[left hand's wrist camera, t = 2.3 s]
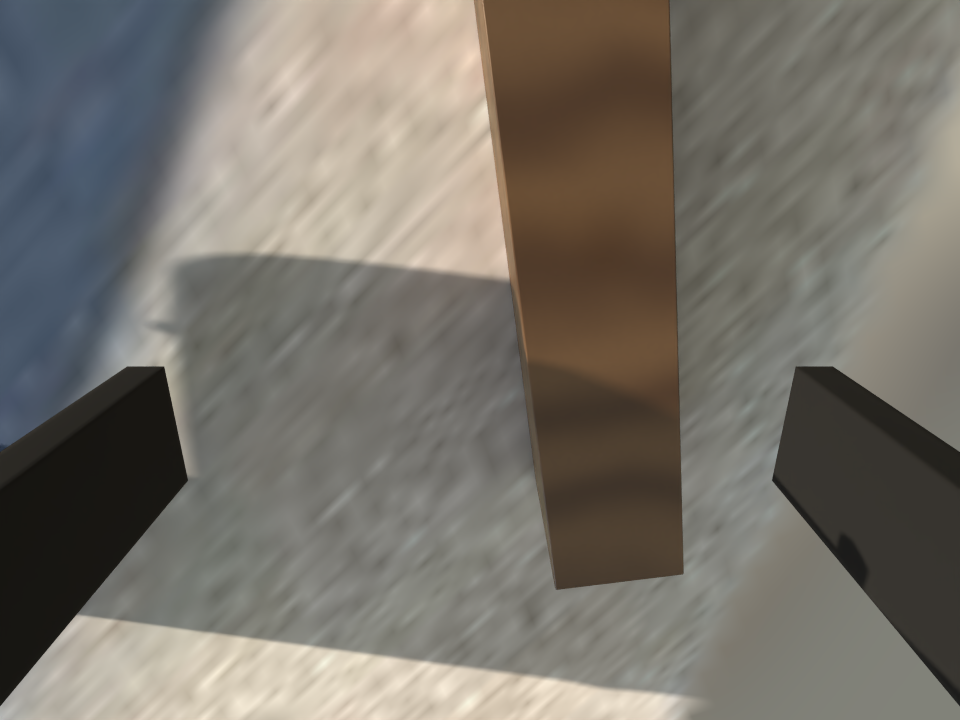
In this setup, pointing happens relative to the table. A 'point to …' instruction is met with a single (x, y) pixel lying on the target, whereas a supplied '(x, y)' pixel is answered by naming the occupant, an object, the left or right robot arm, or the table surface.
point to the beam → (592, 272)
